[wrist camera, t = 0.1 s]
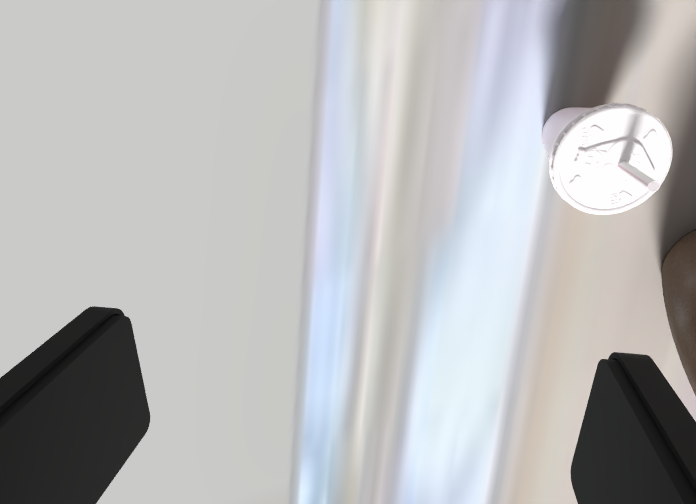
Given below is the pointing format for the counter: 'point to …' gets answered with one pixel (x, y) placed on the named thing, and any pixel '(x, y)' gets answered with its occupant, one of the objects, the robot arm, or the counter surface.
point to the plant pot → (682, 300)
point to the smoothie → (606, 156)
